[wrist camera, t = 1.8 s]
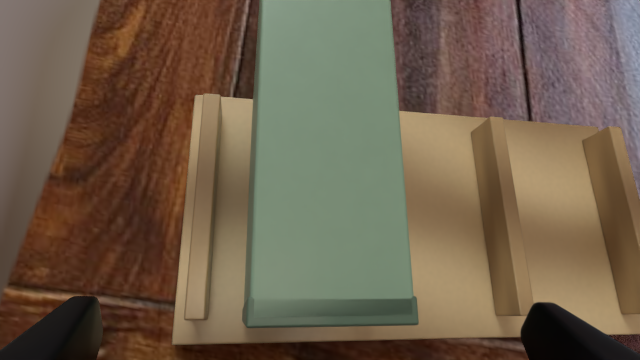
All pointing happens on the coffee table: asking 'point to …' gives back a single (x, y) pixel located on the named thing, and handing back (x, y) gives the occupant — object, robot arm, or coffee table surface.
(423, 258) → the rack
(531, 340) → the robot arm
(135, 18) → the coffee table surface
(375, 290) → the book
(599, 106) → the coffee table surface
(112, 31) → the coffee table surface
